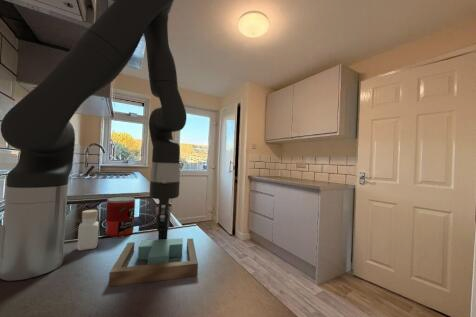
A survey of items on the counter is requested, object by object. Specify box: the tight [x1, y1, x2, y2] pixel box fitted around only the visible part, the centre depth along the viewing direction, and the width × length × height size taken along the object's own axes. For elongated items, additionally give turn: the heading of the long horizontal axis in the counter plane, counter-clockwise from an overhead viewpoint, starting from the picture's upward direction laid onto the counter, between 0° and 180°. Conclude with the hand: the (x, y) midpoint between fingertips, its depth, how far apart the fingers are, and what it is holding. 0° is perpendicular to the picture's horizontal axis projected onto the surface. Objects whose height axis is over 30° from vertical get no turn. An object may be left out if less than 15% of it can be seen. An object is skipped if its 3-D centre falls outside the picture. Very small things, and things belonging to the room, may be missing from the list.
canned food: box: [105, 196, 136, 238], centre depth 64 cm, size 8×8×11 cm
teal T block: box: [137, 237, 184, 265], centre depth 48 cm, size 10×10×3 cm
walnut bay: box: [108, 238, 199, 287], centre depth 46 cm, size 16×14×2 cm
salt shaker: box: [76, 209, 100, 251], centre depth 53 cm, size 4×4×10 cm
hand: (162, 244), depth 55 cm, fingers closed
